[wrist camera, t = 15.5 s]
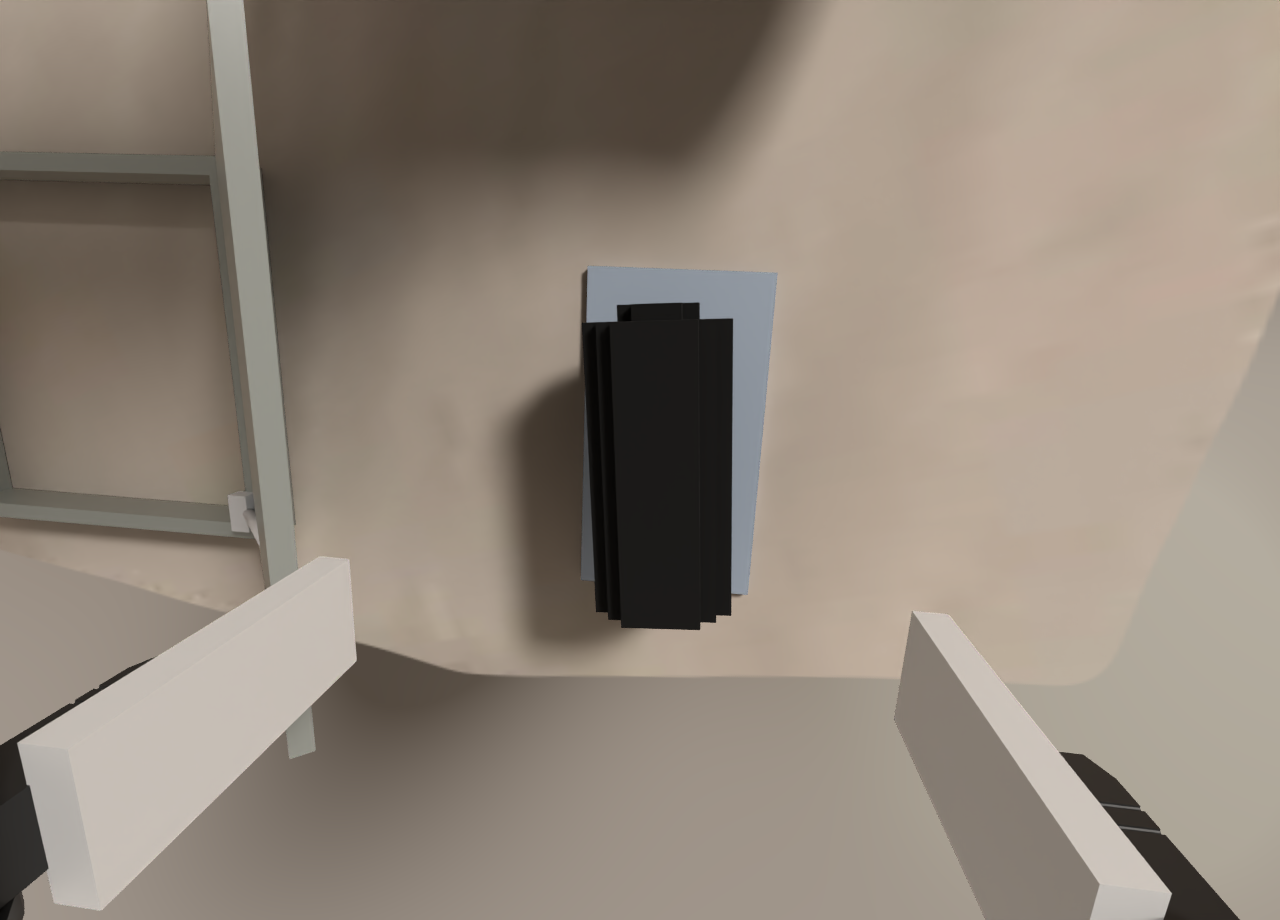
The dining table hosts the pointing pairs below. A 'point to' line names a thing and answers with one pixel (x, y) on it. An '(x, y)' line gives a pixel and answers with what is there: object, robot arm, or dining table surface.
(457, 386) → the dining table surface
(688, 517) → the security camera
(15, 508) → the case
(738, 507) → the mat
